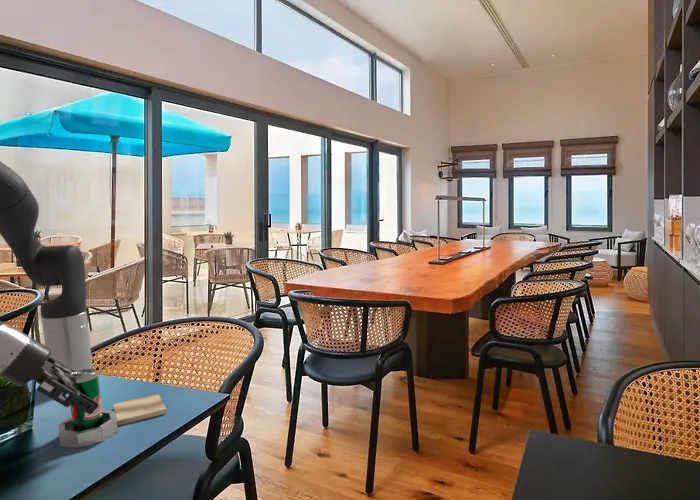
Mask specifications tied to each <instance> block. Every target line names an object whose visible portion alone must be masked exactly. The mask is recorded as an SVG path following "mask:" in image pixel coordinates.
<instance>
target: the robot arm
mask: <svg viewBox="0 0 700 500" xmlns="http://www.w3.org/2000/svg"><path fill="white" fill-rule="evenodd" d="M39 211H40V208H39V203H38V201H37V198H36V197H35V195H34V194H33V192H32V190H31V189H30V188H29V186H28V184H27V183H26V182H25V180H24V178H22V176H21V175H19V174H18V173H17V172H15V171H14V170H13V169H12V168H10V167H9V166H8V165H6V164H5V163H3V162H2V161H0V236H1V237H2V239H3V240H4V241H5V243H6V244H7V246H9V248H10V250H11V251H12V253H13V254H14V256H15V258H16V259H17V261H18V262H19V264H20V266H21V268H22V269H23V272H24V273H25V274H26V276H27V278H28V279H29V281H31V282H32V283H34V284H35V285H37V286H40V287H53V286H54V287H56V286H61V293H60V294H59V295H58V296H57V297H55V298H53V299H51V300H48V301H45V302H43V303H42V304H41V305H40V308H39V309H40V317H41V325H42V326H41V327H42V333H43V341H44V344H43V343H41V342H40V341H38V340H36V339H34V338H33V337H31V336H30V335H28V334H26V333H24V332H23V331H21V330H19V329H17V328H16V327H13V326H11V325H9V324H6V323H5V322H3V321H1V320H0V377H1V378H3V379H5V380H7V381H9V382H10V383H12V384H14V385H16V386H17V387H24V386H26V385H27V384H29V382H30V381H34V382H36V383H37V384H38V386H37V388H36V390H37V391H38V392H39V393H41V394H43V395H45V396H47V397H48V398H50V399H52V400H53V401H55V402H56V403H58V404H60V405H62V406H63V407H64V408H69V407H70V406H71V405H74V406H75V407H77V408H79V409H81V410H83V411H84V412H86V413H88V414H92V413H93V412H94V410H95V409H96V408H97V407H98V402H96V401H95V400H93V399H91V398H89V397H88V396H86V395H84V394H82V393H81V392H80V391H79V390H77V389H76V388H75V387H74V383H73V382H72V381H71V380H70V379H69V374H71V373H72V372H75V371H78V370H82V369H94V368H93V366H94V365H93V359H92V358H93V357H92V347H91V341H90V331H89V323H88V316H87V315H88V313H87V286H86V265H85V259H84V254H83V252H82V250H81V249H80V248H79V247H78V246H76V245H71V244H69V245H50V246H49V245H48V246H47V245H43V244H42V243H41V242H40V241H39V240H38V239H37V237H36V235H35V230H36V226H37V223H38V218H39V213H40V212H39ZM66 394H68V396H67V395H66ZM69 394H70V395H69Z"/></svg>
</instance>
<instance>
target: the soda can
mask: <svg viewBox="0 0 700 500" xmlns="http://www.w3.org/2000/svg"><path fill="white" fill-rule="evenodd" d="M69 379H70V380H71V381H72V382H73V383H74V387H75V388H76V389H77V390H79V391H80V392H81V393H82V394H84V395H86V396H88V397H89V398H91V399H93V400H95V401H96V402H98V407H97V408H96V409H95V410H94V412H93V413H92V414H88V413H86V412H84V411H83V410H81V409H79V408H77V407H75V406H74V405H71V406H69V407H70V417H72V426H73V431H76V432H80V431H84V430H88V429H92V428H96V427H99V426H101V425H102V424H103V415H102V410H103V409H102V399H101V398H102V397H101V391H100V380H99V375H98V373H96V370H95V368H93V369H82V370H78V371H75V372H72V373H71V374H69ZM69 395H70V394H68V396H69Z"/></svg>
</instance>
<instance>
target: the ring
mask: <svg viewBox="0 0 700 500" xmlns="http://www.w3.org/2000/svg"><path fill="white" fill-rule="evenodd" d="M102 415H103V424H102V425H101V426H99V427H96V428H92V429H88V430H84V431H80V432H76V431H73V426H72V417H71V416H70V417H69V418H67V419H65V420H64V421H62V422H60V423H59V424H58V426H57V427H58V439H59V447H65V448H66V447H67V448H76V449H79V448H85V447H87V446H91V445H95V444H98V443H103V442H104V441H106V440H108V438H110V437H112V436H113V435H115V434H116V433H117V432H119V428H118V423H117V418H116V414H115V411H114V410H109V409H102Z"/></svg>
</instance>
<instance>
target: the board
mask: <svg viewBox="0 0 700 500" xmlns="http://www.w3.org/2000/svg"><path fill="white" fill-rule="evenodd" d="M112 406H113V411H115V414H116V418H117V426H122V425H127V424H130V423H134V422H139V421H142V420H146V419H150V418H154V417H158V416H162V415H165V414H167V413H168V412H167V411H168V410H167V408H166V405H165V404H164V401H163V399H162V398H161V396H160V394H159V393H157V394H152V395H147V396H144V397H143V396H142V397H139V398H138V397H137V398H134V399H130V400H127V401H121V402H116V403H114V404H112Z"/></svg>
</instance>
